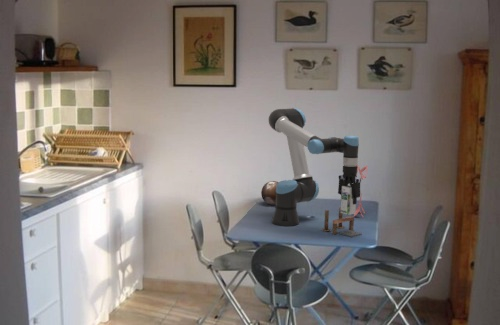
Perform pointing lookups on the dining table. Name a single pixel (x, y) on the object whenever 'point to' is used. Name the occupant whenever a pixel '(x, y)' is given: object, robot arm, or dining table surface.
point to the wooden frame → (340, 220)
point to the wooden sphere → (269, 192)
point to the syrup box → (346, 200)
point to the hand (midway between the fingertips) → (348, 208)
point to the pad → (350, 233)
